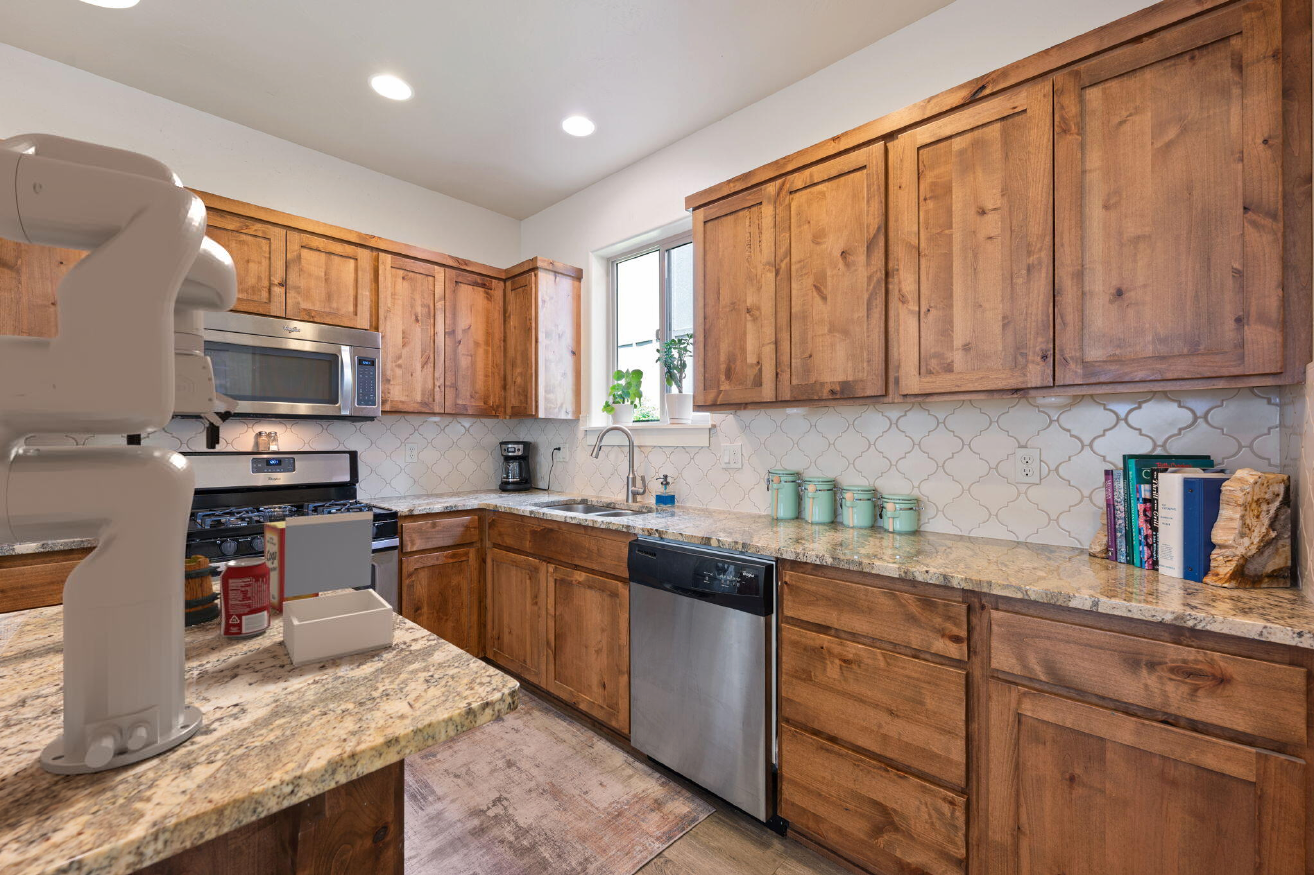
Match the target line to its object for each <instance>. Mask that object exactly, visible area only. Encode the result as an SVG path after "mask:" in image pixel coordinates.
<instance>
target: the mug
mask: <svg viewBox="0 0 1314 875" xmlns="http://www.w3.org/2000/svg"><path fill="white" fill-rule="evenodd" d="M220 568H221V566H220V565H216V566H215V565H214V566H213V565H210V560H209V557H205V556H204V555H200V554H197V555H191V557H190V558H187V559H186V558H185V628H189V627H188V626H190V627H193V626H192V625H196V626H199V624H200V625H202V624H201V623H204V624H207V623H206V622H208V623H210V622H213V621H215V619H216V620H217V618H218V617H219V616H220V607H219V603H218V602H216V601H217V600H220V592H216V591H214V588H213V581H212V574H214V573H217V572H218V571H219V569H220ZM219 618H220V617H219ZM212 620H213V621H212Z"/></svg>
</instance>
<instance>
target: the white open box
mask: <svg viewBox="0 0 1314 875" xmlns="http://www.w3.org/2000/svg"><path fill="white" fill-rule="evenodd" d="M393 629H394V608H393V606H392V605H391V604H390V603H388V601H386V600H385V599H384V598H382V597H381V596H380V595H379V594H378V593H377V592H376V591H375V590H374V589H373V588H368V589H362V590H355V591H348V592H342V593H335V594H329V595H322V596H319V597H314V598H308V599H301V600H295V601H288V602H283V613H282V640H283V643H284V645H285V649H286V650H287V653H288V655H289V658H290V660H291V662H292V665H293V668H297V667H302V666H303V667H304V666H306V665H307V666H308V665H312V664H315V663H320V662H325V661H330V660H334V659H340V658H345V657H349V656H353V655H358V654H363V653H367V652H372V650H373V651H376V650H377V651H378V650H381V649H386V648H385V647H387V648H390V647H389V646H391V647H393V646H394V644H393V642H394V641H393V640H394V637H393V636H394V630H393ZM392 645H393V646H392Z"/></svg>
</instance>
